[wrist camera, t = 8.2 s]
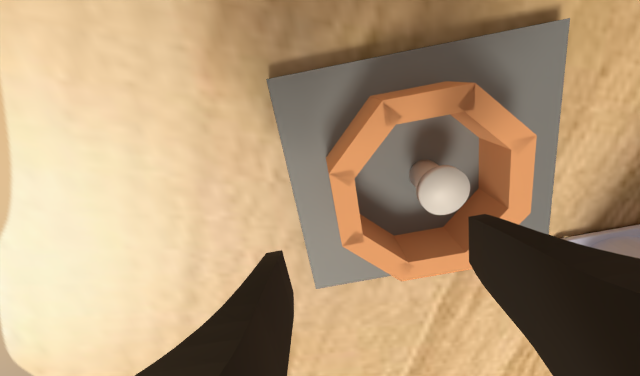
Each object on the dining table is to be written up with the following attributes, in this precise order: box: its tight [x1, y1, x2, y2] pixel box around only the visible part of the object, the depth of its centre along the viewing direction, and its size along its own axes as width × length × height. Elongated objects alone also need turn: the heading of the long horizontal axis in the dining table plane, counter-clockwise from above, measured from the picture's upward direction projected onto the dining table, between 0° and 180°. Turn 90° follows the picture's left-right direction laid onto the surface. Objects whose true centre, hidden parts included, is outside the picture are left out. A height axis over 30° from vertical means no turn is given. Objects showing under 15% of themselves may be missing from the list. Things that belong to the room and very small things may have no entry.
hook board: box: [266, 18, 570, 289], centre depth 17 cm, size 16×14×4 cm
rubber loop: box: [326, 81, 537, 281], centre depth 17 cm, size 10×10×3 cm
